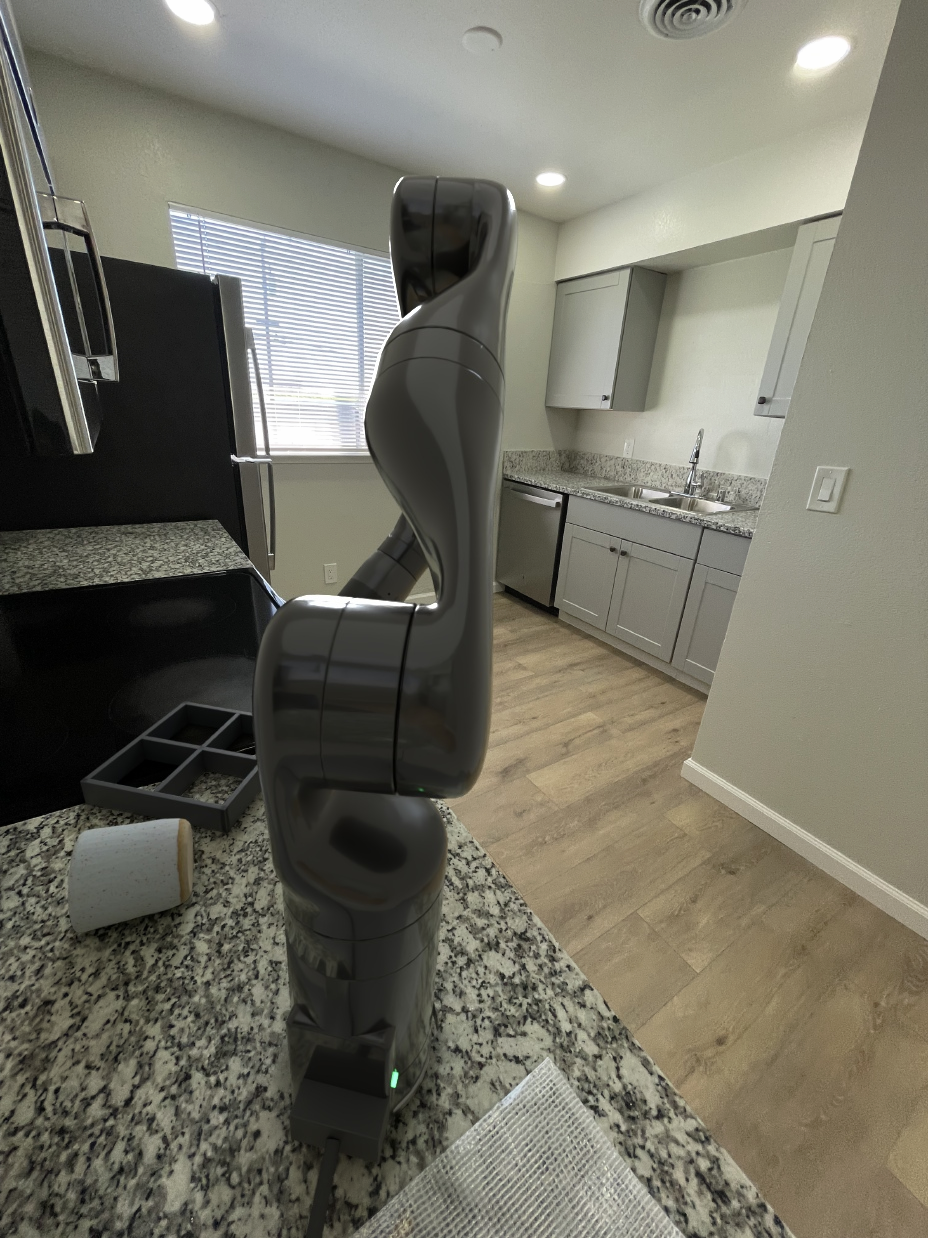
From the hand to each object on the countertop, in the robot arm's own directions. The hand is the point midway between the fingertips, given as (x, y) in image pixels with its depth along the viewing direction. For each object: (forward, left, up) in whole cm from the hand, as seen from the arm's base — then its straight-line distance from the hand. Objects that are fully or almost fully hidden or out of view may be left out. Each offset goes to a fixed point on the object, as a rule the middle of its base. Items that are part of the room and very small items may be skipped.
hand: (295, 693), depth 66 cm
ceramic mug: (-25, +2, -6) cm, 26 cm away
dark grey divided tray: (-10, +7, -6) cm, 13 cm away
